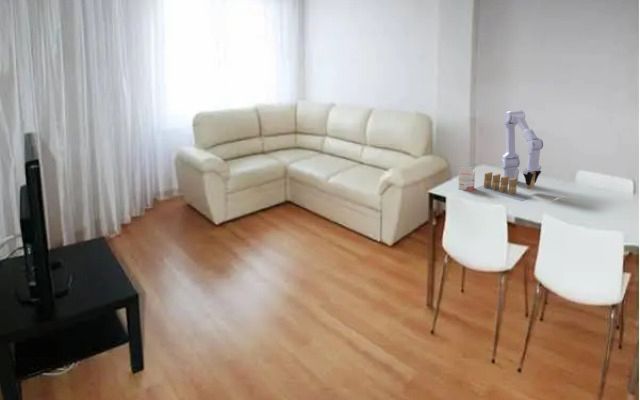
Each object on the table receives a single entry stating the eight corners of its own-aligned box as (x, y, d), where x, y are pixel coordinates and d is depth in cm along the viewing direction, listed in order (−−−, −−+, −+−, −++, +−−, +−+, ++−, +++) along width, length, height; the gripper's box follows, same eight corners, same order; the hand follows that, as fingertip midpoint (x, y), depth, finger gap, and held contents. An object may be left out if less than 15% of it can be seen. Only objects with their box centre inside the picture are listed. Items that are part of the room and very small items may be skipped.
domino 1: (483, 187, 286) (484, 173, 283) (489, 186, 289) (490, 171, 286) (486, 188, 285) (487, 174, 282) (491, 186, 288) (492, 172, 285)
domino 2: (491, 190, 282) (492, 175, 279) (496, 188, 285) (498, 173, 282) (494, 190, 281) (495, 176, 278) (499, 188, 284) (500, 174, 280)
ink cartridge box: (474, 189, 287) (475, 165, 282) (472, 191, 283) (474, 167, 278) (459, 187, 291) (461, 164, 286) (458, 189, 287) (459, 166, 282)
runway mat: (487, 184, 293) (487, 183, 293) (534, 196, 269) (534, 196, 269) (475, 188, 287) (475, 188, 287) (521, 202, 263) (522, 201, 263)
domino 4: (508, 194, 274) (509, 179, 271) (513, 192, 276) (514, 177, 273) (510, 195, 272) (512, 180, 269) (515, 193, 275) (517, 178, 272)
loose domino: (526, 188, 273) (528, 173, 270) (531, 186, 276) (533, 171, 273) (529, 188, 272) (530, 173, 269) (534, 187, 275) (535, 172, 272)
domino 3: (499, 192, 278) (501, 177, 275) (505, 190, 281) (506, 175, 277) (502, 192, 277) (503, 178, 274) (507, 190, 279) (508, 176, 276)
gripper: (532, 164, 261) (529, 188, 266) (547, 159, 269) (544, 182, 274) (520, 162, 267) (518, 185, 272) (535, 157, 275) (533, 179, 279)
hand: (530, 183), depth 273 cm, fingers closed on loose domino, 5 cm apart
